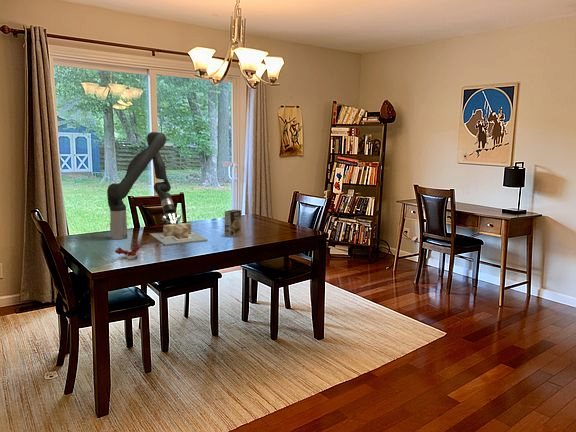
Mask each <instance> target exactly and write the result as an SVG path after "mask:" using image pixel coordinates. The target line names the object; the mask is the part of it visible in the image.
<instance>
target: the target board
mask: <svg viewBox="0 0 576 432" xmlns="http://www.w3.org/2000/svg"><path fill="white" fill-rule="evenodd" d="M150 235H151V236H152V237H153V238H155V239H156V240H157V241H159V242H160V243H162V245H163V246H164V247H166V246H167V247H168V246H169V247H170V246H175V245H176V246H177V245H185V244H193V243H203V242H208V240H209V239H208V238H206V237H204V236H202V235H200V234H198V233H197V232H195V231H192V230H191V234H188V238H185V239H178V238H176V237H174V236H168V237H164V235H163V231H161V232H153V233H150Z"/></svg>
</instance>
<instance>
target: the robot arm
mask: <svg viewBox="0 0 576 432" xmlns="http://www.w3.org/2000/svg"><path fill="white" fill-rule="evenodd" d="M146 142H147V147H145V149H143V150H141V151H140V152H138V153H137V154H136V155H135V156H134V157H133V158H132V159H131V161H130V162H129V163H128V165H127V168H126V174H125V175H124V177H123V178H122V179H121V181H120V182H119V183H116V182H115V183H110V184H109V185H108V187H107V190H106V191H107V192H106V195H107V204H108V207H109V213H110V214H109V215H110V216H109V217H110V222H109V231H110V232H109V233H110V238H111V240H123V239H127V238H128V224H127V223H128V222H127V221H128V220H127V217H128V216H127V206H126V204H125V203H124V201H123V200H124V199H126V197H127V196H128V195H129V193H130V191H131V189H132V187H134V184H135V183H136V182H137V180H138V179H139V178H140V176H141V175H142V174H143V172H144V171H145V169H147V167H148V165H149V164H150V162H152V164H153V171H154V175H155V178H156V179H158V180H163V181H159V182H155V183H154V185H153V190H154V192H155V193H156V195H157V196H158V197H159V199H160V202H161V203H160V204H161V208H162V211H163V216H162V217H161V221H162V222H164V223H165V225H170V224H179V222H180V220H181V219H182V215H178V213H177V211H176V207H175V205H174V201H173V198H172V195H171V193H169V192H170V191H171V188H172V186H171V184H170V182H169V179H168V175H167V170H166V164H165V162H164V160H163V158H162V156H161V154H160V151H161V150H162V148H163V147H164V146H165V144H166V143H167V137H166V134H164V133H163V132H158V131H151V132H149V133H147V137H146Z"/></svg>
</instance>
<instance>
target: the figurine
mask: <svg viewBox="0 0 576 432" xmlns="http://www.w3.org/2000/svg"><path fill="white" fill-rule="evenodd" d="M142 247H143V245H141V244H140V243H136V244H135V246H134V247H133V248H132V249H127V248H125V249H122V248H121V247H116V249H115V251H114V253H116V254H118V255H121V254H123V255H124V256H126V259H128V260H129V259H130V260H132V259H134V258H135V259H137V258H138V257H139V255H138V254H137V252H138V251H139V250H140V249H141V248H142Z"/></svg>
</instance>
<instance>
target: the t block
mask: <svg viewBox="0 0 576 432" xmlns="http://www.w3.org/2000/svg"><path fill="white" fill-rule="evenodd" d="M162 227H163V228H162V230H163V231H162V232H163V235H164V237H168V236H174V237H176V238H178V239H185V238H188V234H191V231H192V224H191V223H190V222H183V223H178V224H170V225H168V224H163V226H162Z"/></svg>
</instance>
